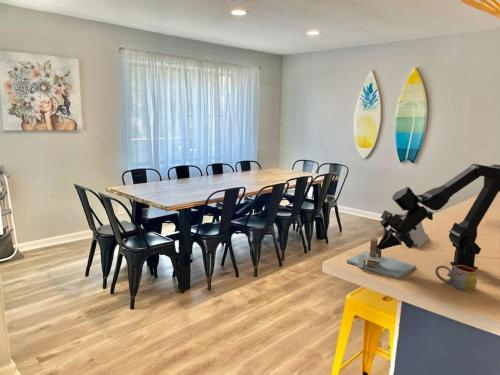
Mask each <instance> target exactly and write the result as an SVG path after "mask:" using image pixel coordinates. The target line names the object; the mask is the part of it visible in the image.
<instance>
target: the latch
mask: <svg viewBox="0 0 500 375" xmlns="http://www.w3.org/2000/svg"><path fill="white" fill-rule="evenodd" d="M378 241H379V238H375V237H371V239H370V247H369V252H370V256H372V257H381V256H382V250H379V249H378V248H377V246H378V244H379V242H378ZM376 262H377V261H372V260H368V261H367V266H370V267H375V264H376Z"/></svg>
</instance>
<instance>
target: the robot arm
mask: <svg viewBox="0 0 500 375" xmlns="http://www.w3.org/2000/svg"><path fill="white" fill-rule="evenodd" d="M480 177H483V187H482V188H481V190H480V192H479V193H478V195H477V197H476V198H475V200H474V202H473V203H472V205H471V207H470V209H469V210H468V212H467V214H466V216H465V217H464V218H463V220H462V221H461V222H459V223H457V222H454V223H453V225H452V227H451V228H450V229H449V231H448V232H449V234H448V238H449V241H450V242H451V244H452V246H453V248H455V250H454V255H453V256H454V257H453V261H450V262H449V263H450V264H451V265H452V266H456V265H463V266H467V267H470V268H472V269H475V270H478V267H477V266H476V265H475V260H476V255H479V254H480V252H481V251H482V248H481V247H480V246H479V245H478V244H477V243H476V240H477V237H478V227H479V225H480V224H481V222H482V220H483V218H484V217H485V215H486V214H487V212H488V211H489V209H490V207H491V205H492V203H493V202H494V200H495V199H496V198H497V195H499V194H498V193H500V164H492V165H490V166H489V165H484V164H479V163H472V164H470V165H469V166H468V167H467V168H465V169H464V170H463V171H461V172H460V173H458V174H457V175H456V176H454V177H453V178H451V179H450V180H448V181H446V182H445V183H444V184H443V185H441V186H438V187H437V186H436V187H433V188H430V189H429V190H427V191H425V192H423V193H422V194H415V193H414V192H413V190H412V188H410V187H408V186H405V188H401V189H399V190H398V191H396V192H394V194H393V195H392V197H391V198H392V200H393V202H394V203H396V204H397V206H398V207H399V208H400V209H401V210H402V211H406V212H405V213H404V214H402V213H401V214H400V213H399V214H398V213H397V212H393V213H392V212H390V211H388V210H386V209H385V210H383V212H382V214H381V216H380V219H381V220H380V221H379V223H380V224H379V225H381V226H382V227H383V235H382V237H381V239H380V241H379V242H378V243H377V245H378V246H377V248H378V249H379V250H381V251H382V250H385V249H386V250H387V249H389V248H392V247H395V246H402V245H403V244H404V245H405V247H406V248H408V249H409V250H410V249H412V248H413V247H414V246H415V245H414V241H413V240H412V239H411V238H410V237H409V236H408V235H407V234H408V233H409V232H410V231H411V230H416V229H417V228H416V226H417V225H418V224H419V223H420V222H423V221H424V220H425V219H428V220H430V221H433V219H434V218H433V214H434V212H432V211H436V212H437V211H439V210H441V209H442V208H443V207H444V206H445V205H447V204H448V202H449V201H450V199H451V197H453V196H454V195H455V194H457V193H458V192H459V191H461V190H462V189H464V188H465V187H467V186H468V185H470V184H471V183H473V182H474V181H476V180H477V179H479V178H480ZM428 209H429V211H428ZM430 210H431V211H430Z"/></svg>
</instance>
